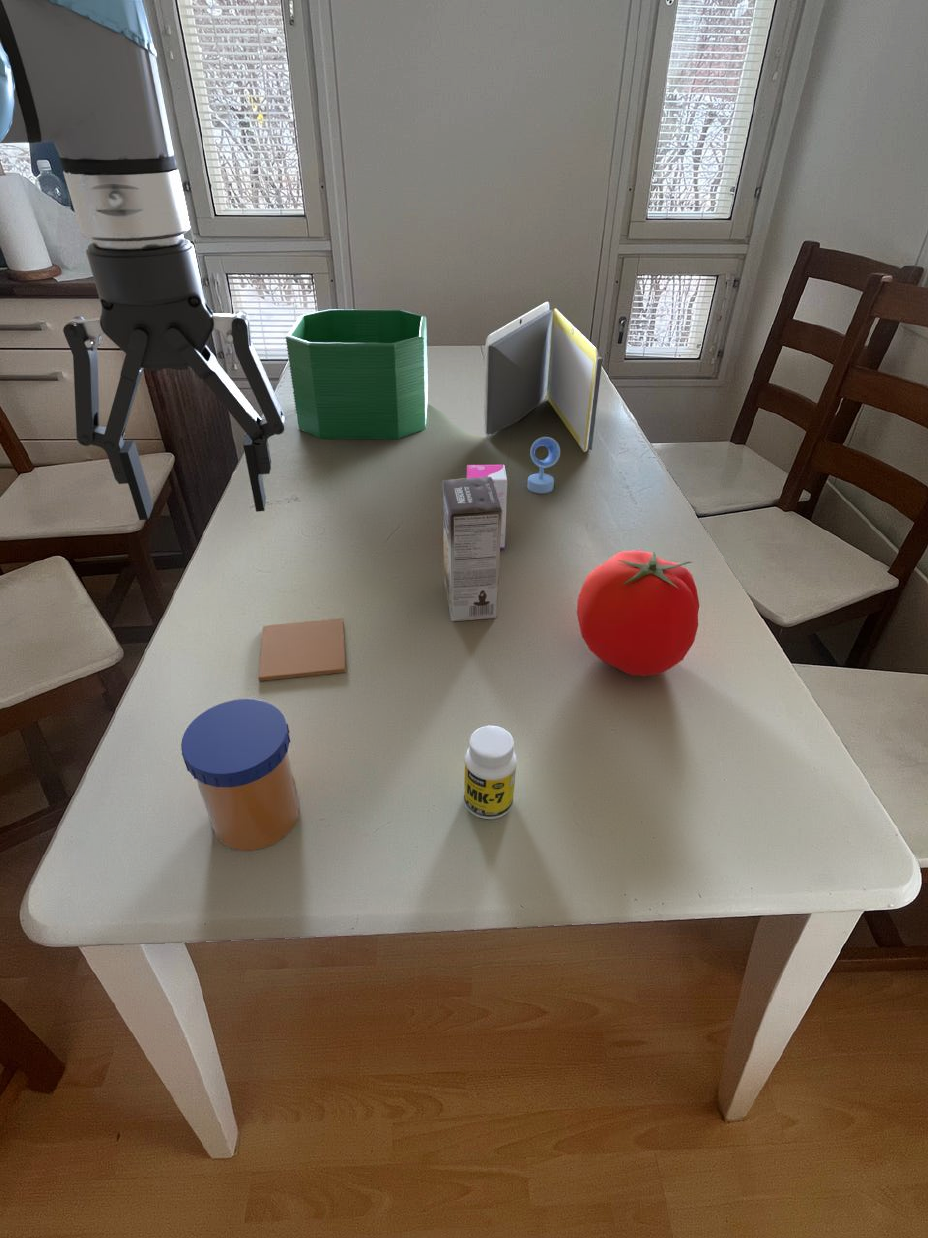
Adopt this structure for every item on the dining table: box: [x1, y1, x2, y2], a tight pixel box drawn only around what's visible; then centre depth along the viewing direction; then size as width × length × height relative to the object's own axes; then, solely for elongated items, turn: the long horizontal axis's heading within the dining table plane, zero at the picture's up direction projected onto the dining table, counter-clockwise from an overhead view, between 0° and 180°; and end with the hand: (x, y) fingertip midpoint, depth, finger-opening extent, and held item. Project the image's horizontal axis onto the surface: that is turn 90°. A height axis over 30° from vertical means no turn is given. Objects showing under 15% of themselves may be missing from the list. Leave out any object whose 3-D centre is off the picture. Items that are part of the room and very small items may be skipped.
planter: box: [284, 309, 429, 440], centre depth 141 cm, size 26×26×18 cm
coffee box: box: [442, 477, 502, 622], centre depth 88 cm, size 9×6×16 cm
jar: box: [195, 751, 301, 852], centre depth 62 cm, size 8×8×10 cm
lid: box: [180, 698, 291, 787], centre depth 59 cm, size 9×9×2 cm
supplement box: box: [466, 464, 508, 552], centre depth 102 cm, size 6×6×12 cm
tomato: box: [576, 549, 700, 677], centre depth 81 cm, size 16×14×14 cm
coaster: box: [257, 617, 347, 682], centre depth 85 cm, size 10×10×1 cm
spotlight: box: [526, 436, 561, 494], centre depth 117 cm, size 5×10×7 cm
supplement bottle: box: [463, 725, 517, 820], centre depth 64 cm, size 5×5×8 cm
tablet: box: [483, 301, 603, 453], centre depth 139 cm, size 35×22×20 cm, turn 10°
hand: (204, 508), depth 65 cm, fingers open, 10 cm apart
